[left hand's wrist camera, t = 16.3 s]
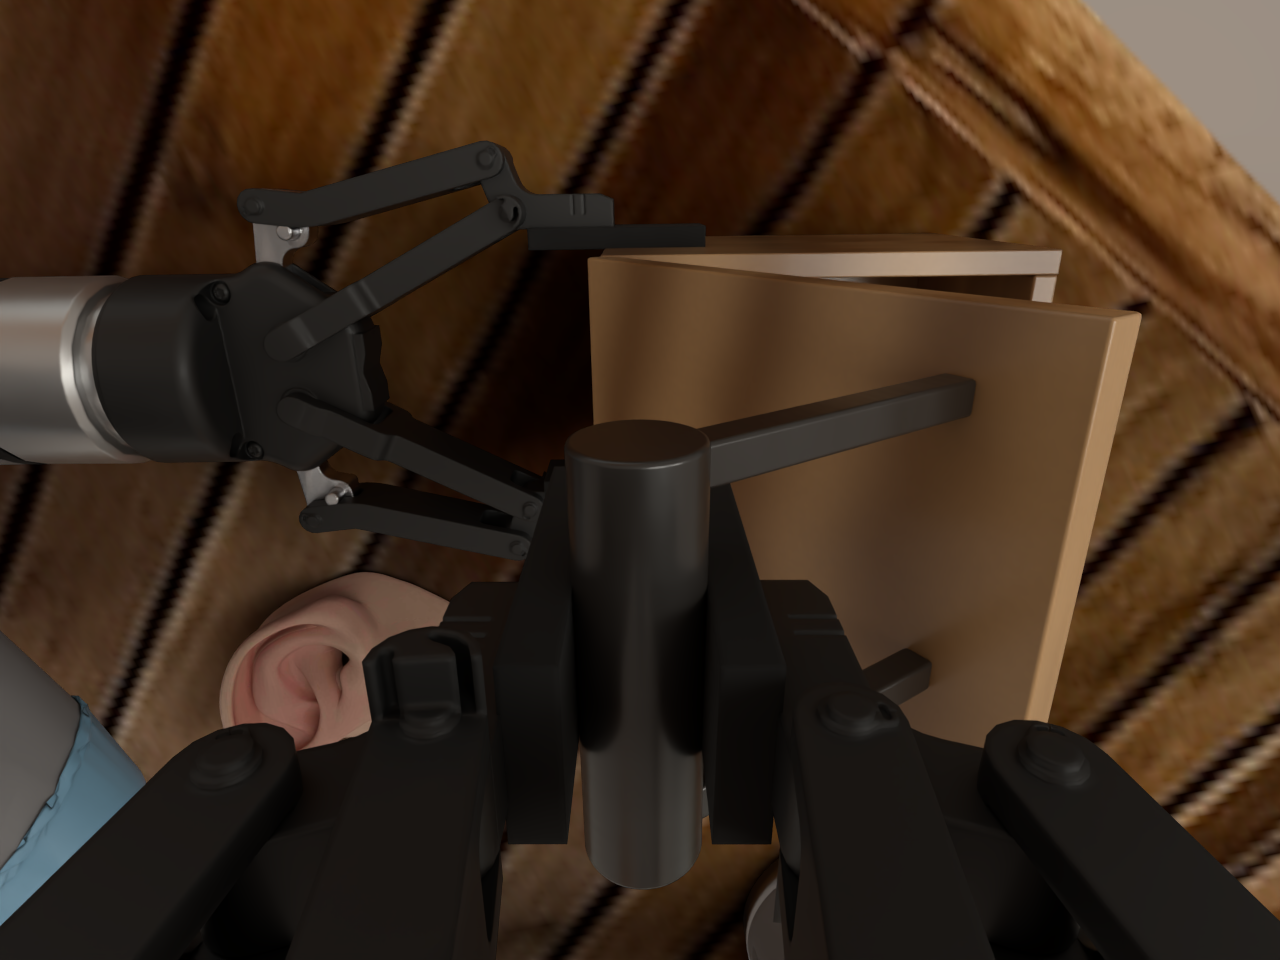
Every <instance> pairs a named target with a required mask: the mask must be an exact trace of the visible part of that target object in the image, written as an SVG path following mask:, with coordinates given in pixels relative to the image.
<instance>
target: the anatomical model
mask: <svg viewBox="0 0 1280 960" xmlns="http://www.w3.org/2000/svg"><path fill="white" fill-rule="evenodd" d="M449 603H450V602H449V601H447V600H445V599H443V598H441V597H439V596H437V595H435V594H433V593H431V592H428V591H426V590H424V589H422V588H420V587H418V586H416V585H413V584H411V583H408V582H405V581H402V580H399V579H396V578H393V577H390V576H387V575H384V574H379V573H374V572H359V573H354V574H350V575H346V576H343V577H340V578H337V579H334V580H332V581H329V582H327V583H324V584H322V585H320V586H317V587H315V588H313V589H311V590H308V591H306V592H304V593H302V594H300V595H298V596H297V597H295V598H293V599H292V600H290V601H288V602H287V603H285V604H284V605H282V606H281V607H280V608H278V609H277V610H276V611H274V612H273V613H272V614H271V615H270V616H269V617H268V618H267V619H266V620H265V621H264V622H263V623H262V625H261V626H260V627H259V628H258V630H256V631H255V632H253V633H252V634H251V635H250V636H248V637H247V638H246V639H245V640H244V641H243V642H242V643H241V644H240V646H239V647H238V648H237V649H236V651H235V652H234V654H233V655H232V657H231V659H230V661H229V663H228V665H227V667H226V670H225V673H224V676H223V680H222V683H221V689H220V697H219V706H220V715H221V720H222V725H223V729H224V728H228V727H232V726H236V725H239V724H244V723H269V724H272V725H276V726H279V727H283V728H284V729H285V730H286V731H287V732H288V733H289V734H290V735H291V736H292V737H293V738H294V742H295V747H296V751H298V750H303V749H307V748H312V747H316V746H321V745H325V744H330V743H334V742H338V741H339V740H341V739H342V738H344V737H355V736H358V735H360V734H362V733H364V732H367V731H368V730H369V727H370V725H371V722H372V721H371V715H370V709H369V703H368V697H367V691H366V685H365V679H364V673H363V667H362V661H363V659H364V658H365V657H366V655H367V654H368V653H369V651H370V650H371V649H372V648H373V647H375V646H376V645H378V644H379V643H381V642H382V641H384V640H385V639H387V638H388V637H391V636H393V635H396V634H399V633H401V632H404V631H407V630H410V629H416V628H422V627H429V626H439V624H440V622H442V621H443V616H444V614H445V611H446V609H447V607H448V605H449Z"/></svg>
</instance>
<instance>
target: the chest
mask: <svg viewBox="0 0 1280 960" xmlns="http://www.w3.org/2000/svg"><path fill="white" fill-rule="evenodd" d="M606 256H614V257H623V258H633V259H642V260H651V261H661V262H670V263H680V264H689V265H699V266H708V267H718V268H727V269H737V270H746V271H755V272H765V273H774V274H784V275H793V276H803V277H812V278H822V279H831V280H840V281H850V282H859V283H869V284H878V285H888V286H897V287H907V288H916V289H926V290H935V291H944V292H954V293H963V294H973V295H982V296H992V297H1001V298H1011V299H1020V300H1030V301H1039V302H1048V303H1052V301H1053V296H1054V290H1055V285H1056V280H1057V276H1056V275H1057V274H1058V272H1059V267H1060V261H1061V256H1062V249H1055V248H1047V247H1039V246H1031V245H1023V244H1015V243H1007V242H999V241H991V240H983V239H975V238H967V237H959V236H951V235H943V234H935V233H917V234H842V235H767V236H705V247H670V248H606V249H604V251H603V253H602V254H601V256H600V257H606Z"/></svg>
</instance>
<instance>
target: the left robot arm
mask: <svg viewBox="0 0 1280 960" xmlns="http://www.w3.org/2000/svg"><path fill="white" fill-rule="evenodd" d="M362 667H363V673H364V679H365V685H366V691H367V697H368V703H369V709H370V715H371V721H372V722H371V725H370V727H369V730H368V731H367V732H364V733H362V734H360V735H358V736H355V737H352V738H349V739H345V740H342V741H339V742H334V743H330V744H325V745H321V746H316V747H312V748H307V749H303V750H298V751H296V747H295V742H294V738H293V737H292V736H291V735H290V734H289V733H288V732H287V731H286V730H285V729H284V728H283V727H279V726H276V725H272V724H269V723H244V724H239V725H236V726H232V727H228V728H224V729H220V730H217V731H215V732H213V733H211V734H209V735H207V736H205V737H202V738H200V739H198V740H196V741H194V742H192V743H191V744H190V745H189V746H187V747H186V748H185V749H183V750H182V751H181V752H179V753H178V754H177V755H175V756H174V757H173V758H172V759H171V760H170V761H169V762H168V763H167V764H166V765H165V766H164V767H162V768H161V769H160V770H159V771H158V772H157V773H156V774H155V775H154V776H153V777H152V778H151V779H150V780H149V781H148V782H147V783H146V784H145V785H144V786H143V787H142V788H141V789H140V790H139V791H138V792H137V793H136V794H135V795H134V796H133V797H132V798H131V799H130V800H129V801H128V802H127V803H126V804H125V805H124V806H123V807H122V808H120V809H119V810H118V811H117V812H116V813H115V814H114V815H113V816H112V817H111V818H110V819H109V820H108V821H107V822H106V823H105V824H104V825H103V826H102V827H101V828H100V829H99V830H98V831H97V832H96V833H95V834H94V835H93V836H92V837H91V838H90V839H89V840H88V841H87V842H86V843H85V844H84V845H83V846H82V847H81V848H80V849H78V850H77V851H76V852H75V853H74V854H73V855H72V856H71V857H70V858H69V859H68V860H67V861H66V862H65V863H64V864H63V865H62V866H61V867H60V868H59V869H58V870H57V871H56V872H55V873H54V874H53V875H52V876H51V877H50V878H49V879H48V880H47V881H46V882H45V883H44V884H43V885H42V886H41V887H40V888H39V889H38V890H36V891H35V892H34V893H33V894H32V895H31V896H30V897H29V898H28V899H27V900H26V901H25V902H24V903H23V904H22V905H21V906H20V907H19V908H18V909H17V910H16V911H15V912H14V913H13V914H12V915H11V916H10V917H9V918H8V919H7V920H6V921H5V922H4V923H3V924H2V925H1V926H0V960H496V949H497V938H498V927H499V916H500V904H501V893H502V882H503V875H502V864H501V854H500V843H501V838H502V834H503V829H504V824H505V820H506V825H507V836H508V844H567V841H568V832H569V822H570V813H571V804H572V795H573V786H574V777H575V768H576V759H577V750H578V741H579V719H578V700H577V680H576V660H575V640H574V620H573V598H572V584H571V567H570V548H569V529H568V510H567V491H566V472H565V466H554V469H553V472H552V475H551V478H550V482H549V485H548V488H547V491H546V495H545V498H544V501H543V504H542V508H541V511H540V514H539V517H538V521H537V524H536V527H535V530H534V534H533V537H532V540H531V543H530V547H529V550H528V553H527V556H526V560H525V563H524V566H523V569H522V573H521V576H520V579H519V582H471V583H470V584H469V585H467V586H466V587H465V588H464V589H463V590H461V591H460V592H459V593H458V594H456V595H455V596H454V597H453V598H451V601H450V603H449V605H448V607H447V609H446V611H445V614H444V616H443V621H442V622H440V624H439V626H429V627H422V628H416V629H410V630H407V631H404V632H401V633H399V634H396V635H393V636H391V637H388V638H387V639H385V640H384V641H382V642H381V643H379V644H378V645H376V646H375V647H373V648H372V649H371V650H370V651H369V653H368V654H367V655H366V657H365V658H364V659H363V661H362ZM702 756H703V765H704V775H705V784H706V793H707V802H708V811H709V820H710V829H711V838H712V844H771V840H772V828H773V817H774V819H775V824H776V829H777V833H778V838H779V843H780V854H779V859H777V860H776V861H775V862H774V863H773V864H771V865H770V866H769V867H768V868H767V869H766V870H765V871H764V872H763V873H762V875H761V876H760V877H759V878H758V880H757V881H756V883H755V884H754V886H753V887H752V889H751V891H750V893H749V895H748V898H747V901H746V903H745V908H744V915H743V924H744V933H745V939H746V946H747V952H748V957H749V960H1280V921H1279V920H1278V919H1277V918H1276V917H1275V916H1274V915H1273V914H1272V913H1271V912H1270V911H1269V910H1268V909H1267V908H1266V907H1264V906H1263V905H1262V904H1261V903H1260V902H1259V901H1258V900H1257V899H1256V898H1255V897H1254V896H1253V895H1252V894H1251V893H1250V892H1249V891H1248V890H1247V889H1246V888H1245V887H1244V886H1243V885H1242V884H1241V883H1240V882H1239V881H1238V880H1237V879H1236V878H1235V877H1234V876H1233V875H1231V874H1230V873H1229V872H1228V871H1227V870H1226V869H1225V868H1224V867H1223V866H1222V865H1221V864H1220V863H1219V862H1218V861H1217V860H1216V859H1215V858H1214V857H1213V856H1212V855H1211V854H1210V853H1209V852H1208V851H1207V850H1206V849H1205V848H1204V847H1203V846H1202V845H1201V844H1200V843H1198V842H1197V841H1196V840H1195V839H1194V838H1193V837H1192V836H1191V835H1190V834H1189V833H1188V832H1187V831H1186V830H1185V829H1184V828H1183V827H1182V826H1181V825H1180V824H1179V823H1178V822H1177V821H1176V820H1175V819H1174V818H1173V817H1172V816H1171V815H1170V814H1169V813H1168V812H1166V811H1165V810H1164V809H1163V808H1162V807H1161V806H1160V805H1159V804H1158V803H1157V802H1156V801H1155V800H1154V799H1153V798H1152V797H1151V796H1150V795H1149V794H1148V793H1147V792H1146V791H1145V790H1144V789H1143V788H1142V787H1141V786H1140V785H1139V784H1138V783H1137V782H1136V781H1135V780H1133V779H1132V778H1131V777H1130V776H1129V775H1128V774H1127V773H1126V772H1125V771H1124V770H1123V769H1122V768H1121V767H1120V766H1119V765H1118V764H1117V763H1116V762H1115V761H1114V760H1113V759H1112V758H1111V757H1110V756H1109V755H1108V754H1106V753H1105V752H1104V751H1102V750H1101V749H1100V748H1098V747H1097V746H1096V745H1095V744H1093V743H1092V742H1091V741H1089V740H1088V739H1086V738H1084V737H1082V736H1080V735H1078V734H1076V733H1074V732H1072V731H1070V730H1068V729H1065V728H1063V727H1060V726H1057V725H1053V724H1049V723H1045V722H1041V721H1037V720H1011V721H1007V722H1004V723H1000V724H997V725H996V726H995V727H994V728H993V729H992V730H991V731H990V732H989V733H988V734H987V735H986V739H985V743H984V748H981V747H977V746H972V745H968V744H963V743H959V742H954V741H950V740H945V739H941V738H937V737H934V736H931V735H927V734H924V733H921V732H919V731H917V730H915V729H913V728H911V726H910V724H909V721H908V719H907V718H906V716H905V715H904V713H903V712H902V710H901V709H900V707H899V706H898V705H897V704H895V703H894V702H893V701H891V700H890V699H889V698H887V697H886V696H885V695H883V694H882V693H879V692H877V691H874V690H872V689H871V688H870V686H869V684H868V681H867V679H866V677H865V675H864V673H863V671H862V668H861V666H860V664H859V662H858V660H857V658H856V655H855V653H854V651H853V649H852V647H851V645H850V643H849V640H848V638H847V636H846V635H844V630H843V627H842V625H841V623H840V621H839V619H837V614H836V612H835V610H834V608H833V606H832V604H831V602H830V599H829V597H828V596H827V595H826V594H825V593H823V592H822V591H821V590H820V589H818V588H817V587H816V586H815V585H814V584H812V583H811V582H810V581H809V580H760V578H759V575H758V572H757V569H756V566H755V562H754V559H753V556H752V553H751V549H750V546H749V543H748V540H747V536H746V533H745V530H744V527H743V523H742V520H741V517H740V514H739V510H738V507H737V504H736V501H735V497H734V494H733V491H732V488H731V484H730V483H729V484H726V485H722V486H719V487H715V488H711V489H710V515H709V557H708V586H707V608H706V639H705V670H704V701H703V730H702Z"/></svg>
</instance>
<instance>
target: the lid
mask: <svg viewBox="0 0 1280 960" xmlns="http://www.w3.org/2000/svg"><path fill="white" fill-rule="evenodd" d="M588 282H589V309H590V336H591V363H592V390H593V418H594V425H592V426H589V427H586V428H583V429H580V430H578V431H576V432H575V433H573V434H571V435H570V436H569V437H568V439H567V440H566V443H565V446H564V453H565V472H566V491H567V510H568V529H569V548H570V567H571V584H572V598H573V620H574V640H575V660H576V680H577V700H578V719H579V738H580V757H581V776H582V795H583V814H584V833H585V847H586V851H587V854H588V857H589V859H590V861H591V862H592V864H593V866H594V867H595V868H596V869H597V870H598V872H599V873H600V874H602V875H603V876H604V877H605V878H607V879H608V880H610V881H611V882H613V883H615V884H617V885H620V886H623V887H627V888H631V889H654V888H659V887H663V886H666V885H668V884H671V883H673V882H675V881H677V880H678V879H680V878H681V877H682V876H684V875H685V874H686V873H687V872H688V871H689V870H690V868H691V867H692V866H693V865H694V863H695V861H696V860H697V858H698V855H699V853H700V849H701V843H702V819H703V818H704V817H706V816H708V815H709V811H708V802H707V793H706V784H705V775H704V765H703V756H702V730H703V701H704V670H705V639H706V608H707V586H708V557H709V515H710V489H711V488H715V487H719V486H722V485H726V484H729V483H730V484H731V488H732V491H733V494H734V497H735V501H736V504H737V507H738V510H739V514H740V517H741V520H742V523H743V527H744V530H745V533H746V536H747V540H748V543H749V546H750V549H751V553H752V556H753V559H754V562H755V566H756V569H757V572H758V575H759V578H760V580H809V581H810V582H811V583H812V584H814V585H815V586H816V587H817V588H818V589H820V590H821V591H822V592H823V593H825V594H826V595H827V596H828V597H829V599H830V602H831V604H832V606H833V608H834V610H835V612H836V614H837V619H839V621H840V623H841V625H842V627H843V630H844V635H846V636H847V638H848V640H849V643H850V645H851V647H852V649H853V651H854V653H855V655H856V658H857V660H858V662H859V664H860V666H861V668H862V671H863V673H864V675H865V677H866V679H867V681H868V684H869V686H870V688H871V689H872V690H874V691H877V692H879V693H882V694H883V695H885V696H886V697H887V698H889V699H890V700H891V701H893V702H894V703H895V704H897V705H898V706H899V707H900V709H901V710H902V712H903V713H904V715H905V716H906V718H907V719H908V721H909V724H910V726H911V728H913V729H915V730H917V731H919V732H921V733H924V734H927V735H931V736H934V737H937V738H941V739H945V740H950V741H954V742H959V743H963V744H968V745H972V746H977V747H981V748H984V743H985V739H986V735H987V734H988V733H989V732H990V731H991V730H992V729H993V728H994V727H995V726H996V725H997V724H1000V723H1004V722H1007V721H1011V720H1037V721H1041V722H1045V723H1047V722H1048V717H1049V713H1050V709H1051V705H1052V700H1053V696H1054V692H1055V687H1056V683H1057V679H1058V674H1059V670H1060V666H1061V662H1062V657H1063V653H1064V649H1065V644H1066V640H1067V636H1068V631H1069V627H1070V623H1071V619H1072V614H1073V610H1074V606H1075V601H1076V597H1077V593H1078V588H1079V584H1080V580H1081V576H1082V571H1083V567H1084V563H1085V558H1086V554H1087V550H1088V545H1089V541H1090V537H1091V533H1092V528H1093V524H1094V520H1095V515H1096V511H1097V507H1098V502H1099V498H1100V494H1101V490H1102V485H1103V481H1104V477H1105V472H1106V468H1107V464H1108V459H1109V455H1110V451H1111V447H1112V442H1113V438H1114V434H1115V429H1116V425H1117V421H1118V416H1119V412H1120V408H1121V404H1122V399H1123V395H1124V391H1125V386H1126V382H1127V378H1128V373H1129V369H1130V365H1131V361H1132V356H1133V352H1134V348H1135V343H1136V339H1137V335H1138V330H1139V326H1140V322H1141V314H1140V313H1138V312H1134V311H1124V310H1115V309H1105V308H1096V307H1086V306H1077V305H1067V304H1058V303H1048V302H1039V301H1030V300H1020V299H1011V298H1001V297H992V296H982V295H973V294H963V293H954V292H944V291H935V290H926V289H916V288H907V287H897V286H888V285H878V284H869V283H859V282H850V281H840V280H831V279H822V278H812V277H803V276H793V275H784V274H774V273H765V272H755V271H746V270H737V269H727V268H718V267H708V266H699V265H689V264H680V263H670V262H661V261H651V260H642V259H633V258H623V257H614V256H606V257H590V258H588Z"/></svg>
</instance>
